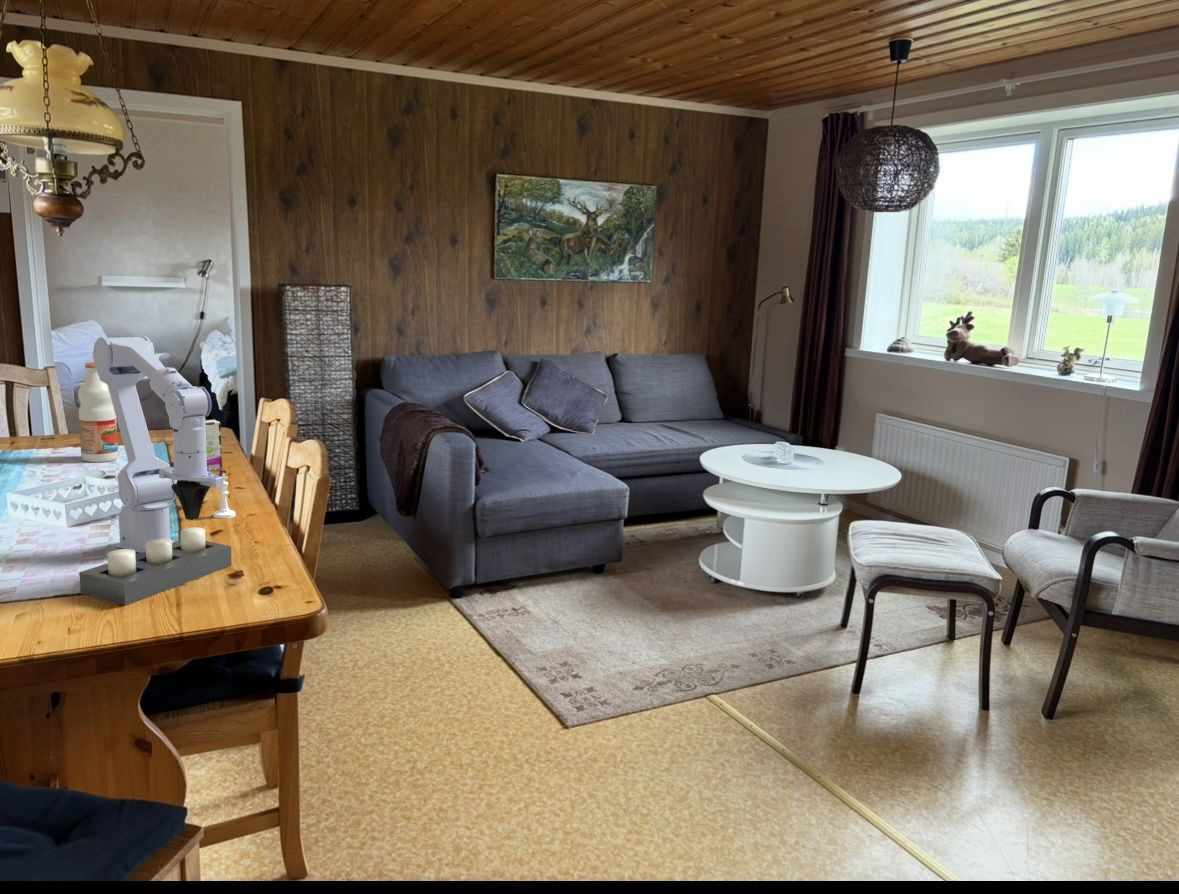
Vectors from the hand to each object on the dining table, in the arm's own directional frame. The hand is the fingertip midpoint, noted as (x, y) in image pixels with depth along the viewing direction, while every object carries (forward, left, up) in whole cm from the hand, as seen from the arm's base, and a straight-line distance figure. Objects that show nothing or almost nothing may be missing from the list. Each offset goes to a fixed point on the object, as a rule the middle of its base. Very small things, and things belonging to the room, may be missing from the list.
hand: (192, 518), depth 169 cm
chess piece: (-21, +29, -10) cm, 37 cm away
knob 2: (0, 0, -7) cm, 7 cm away
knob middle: (0, -8, -7) cm, 11 cm away
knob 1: (0, -16, -7) cm, 17 cm away
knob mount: (0, -8, -10) cm, 13 cm away
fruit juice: (-91, +52, -10) cm, 105 cm away
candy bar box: (-50, +49, -10) cm, 71 cm away
